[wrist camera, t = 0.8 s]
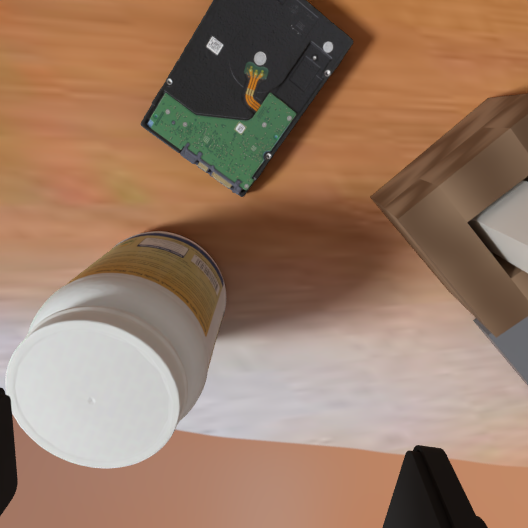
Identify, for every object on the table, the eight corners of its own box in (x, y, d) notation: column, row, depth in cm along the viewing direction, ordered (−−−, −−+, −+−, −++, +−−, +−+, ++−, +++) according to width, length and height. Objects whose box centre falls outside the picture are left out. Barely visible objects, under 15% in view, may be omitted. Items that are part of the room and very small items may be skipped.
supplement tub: (93, 228, 39) (-38, 303, 23) (224, 226, 38) (186, 301, 22) (112, 346, 43) (11, 482, 27) (231, 345, 42) (202, 483, 26)
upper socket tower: (487, 98, 34) (557, 89, 26) (564, 207, 37) (651, 232, 28) (370, 197, 37) (397, 219, 28) (449, 291, 40) (496, 337, 31)
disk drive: (244, -40, 32) (147, 126, 36) (241, -55, 30) (137, 126, 33) (350, 46, 34) (246, 196, 38) (356, 39, 31) (244, 201, 35)
